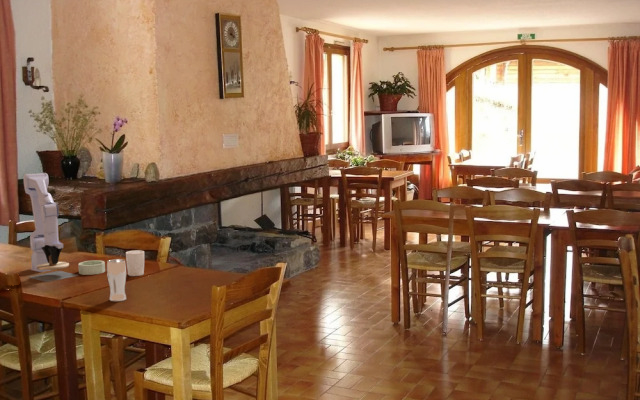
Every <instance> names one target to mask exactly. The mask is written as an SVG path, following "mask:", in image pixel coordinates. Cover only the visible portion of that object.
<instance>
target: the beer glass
mask: <svg viewBox="0 0 640 400" xmlns="http://www.w3.org/2000/svg"><path fill="white" fill-rule="evenodd" d="M106 262H107V263H106V273H107V280H108V285H109V290H110V291H109V293H110V294H109V301H110V302H115V303H116V302H117V303H118V302H123V301H126V300H127V295H126V290H125V289H126V281H127V263H126V259H123V258H114V259H109V260H107V261H106Z"/></svg>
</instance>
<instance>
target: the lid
mask: <svg viewBox="0 0 640 400" xmlns="http://www.w3.org/2000/svg"><path fill="white" fill-rule="evenodd" d="M69 266H70V263H69V262H68V261H67V262H66V261H58V263H56V264H53V263H52V259H51V255H50V256H49V263H43V264H40V265H37V269H39V270H50V271H54V270H61V269H66V268H68V267H69Z"/></svg>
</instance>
